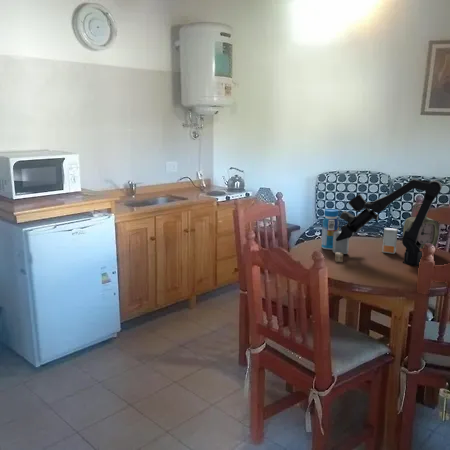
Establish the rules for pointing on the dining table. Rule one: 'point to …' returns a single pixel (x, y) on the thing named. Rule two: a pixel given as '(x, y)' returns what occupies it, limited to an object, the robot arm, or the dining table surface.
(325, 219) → the beverage bottle
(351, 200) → the robot arm
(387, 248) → the skincare box
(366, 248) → the dining table surface
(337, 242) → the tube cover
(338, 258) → the taped cardboard box
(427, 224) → the tabletop clock
